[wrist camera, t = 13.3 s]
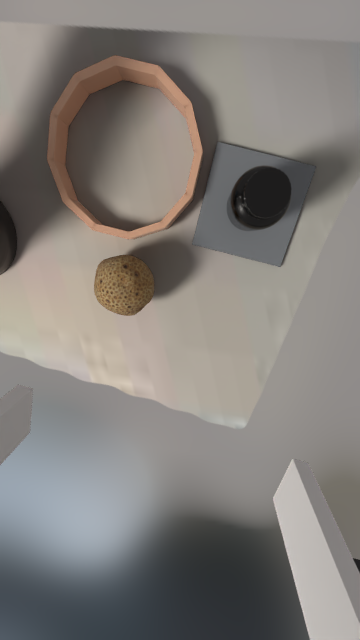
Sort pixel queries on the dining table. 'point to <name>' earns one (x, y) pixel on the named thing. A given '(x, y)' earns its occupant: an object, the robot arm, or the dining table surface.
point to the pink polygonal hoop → (71, 104)
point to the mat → (213, 215)
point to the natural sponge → (123, 284)
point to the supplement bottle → (259, 198)
